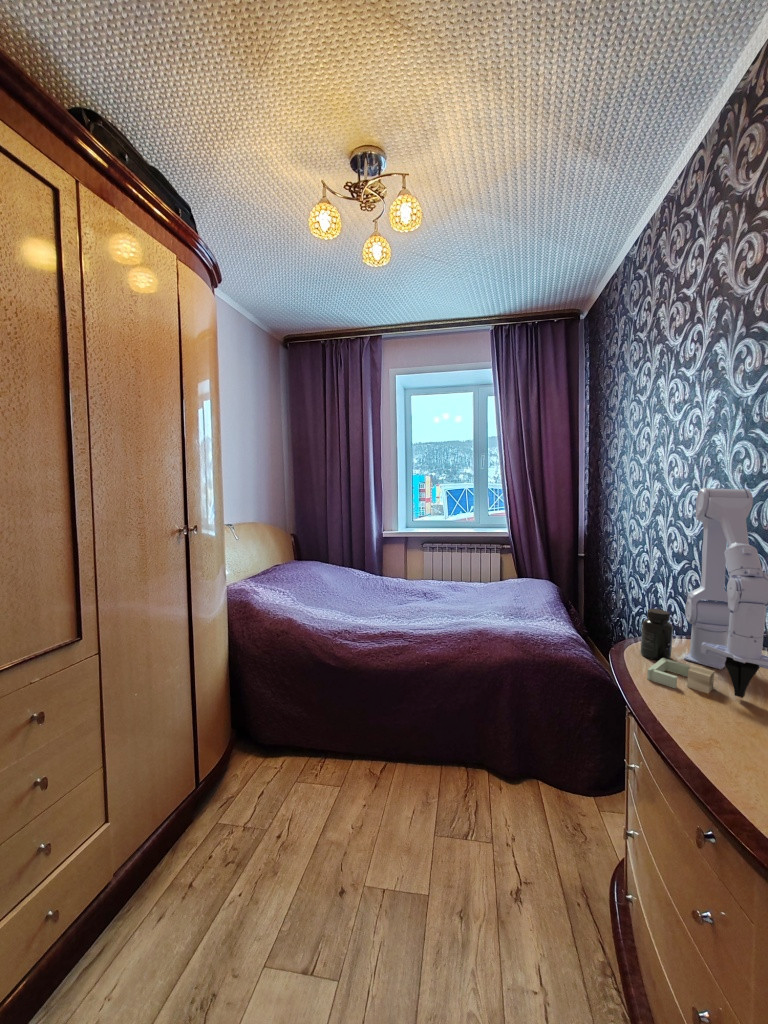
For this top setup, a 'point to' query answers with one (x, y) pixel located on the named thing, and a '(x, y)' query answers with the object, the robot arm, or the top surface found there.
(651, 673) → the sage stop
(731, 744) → the top surface
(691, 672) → the birch block
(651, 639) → the supplement bottle
